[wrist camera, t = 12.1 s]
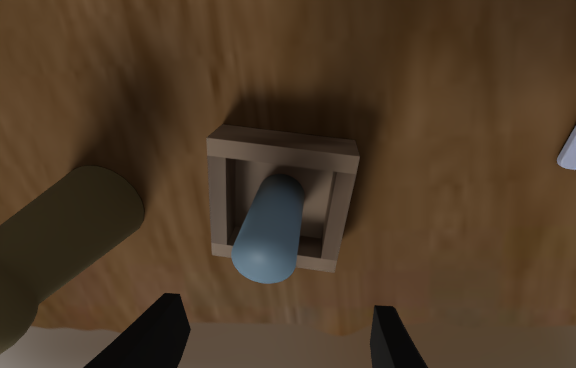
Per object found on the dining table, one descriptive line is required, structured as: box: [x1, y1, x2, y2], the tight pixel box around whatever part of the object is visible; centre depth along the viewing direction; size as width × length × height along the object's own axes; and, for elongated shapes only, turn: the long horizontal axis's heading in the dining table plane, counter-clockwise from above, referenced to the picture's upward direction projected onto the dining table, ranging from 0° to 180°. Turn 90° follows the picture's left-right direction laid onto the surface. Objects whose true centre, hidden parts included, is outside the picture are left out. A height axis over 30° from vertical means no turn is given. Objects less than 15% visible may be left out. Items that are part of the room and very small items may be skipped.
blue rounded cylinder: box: [231, 174, 305, 283], centre depth 16 cm, size 3×3×6 cm
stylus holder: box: [207, 124, 360, 273], centre depth 18 cm, size 8×8×3 cm
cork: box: [0, 166, 144, 354], centre depth 16 cm, size 6×6×11 cm
